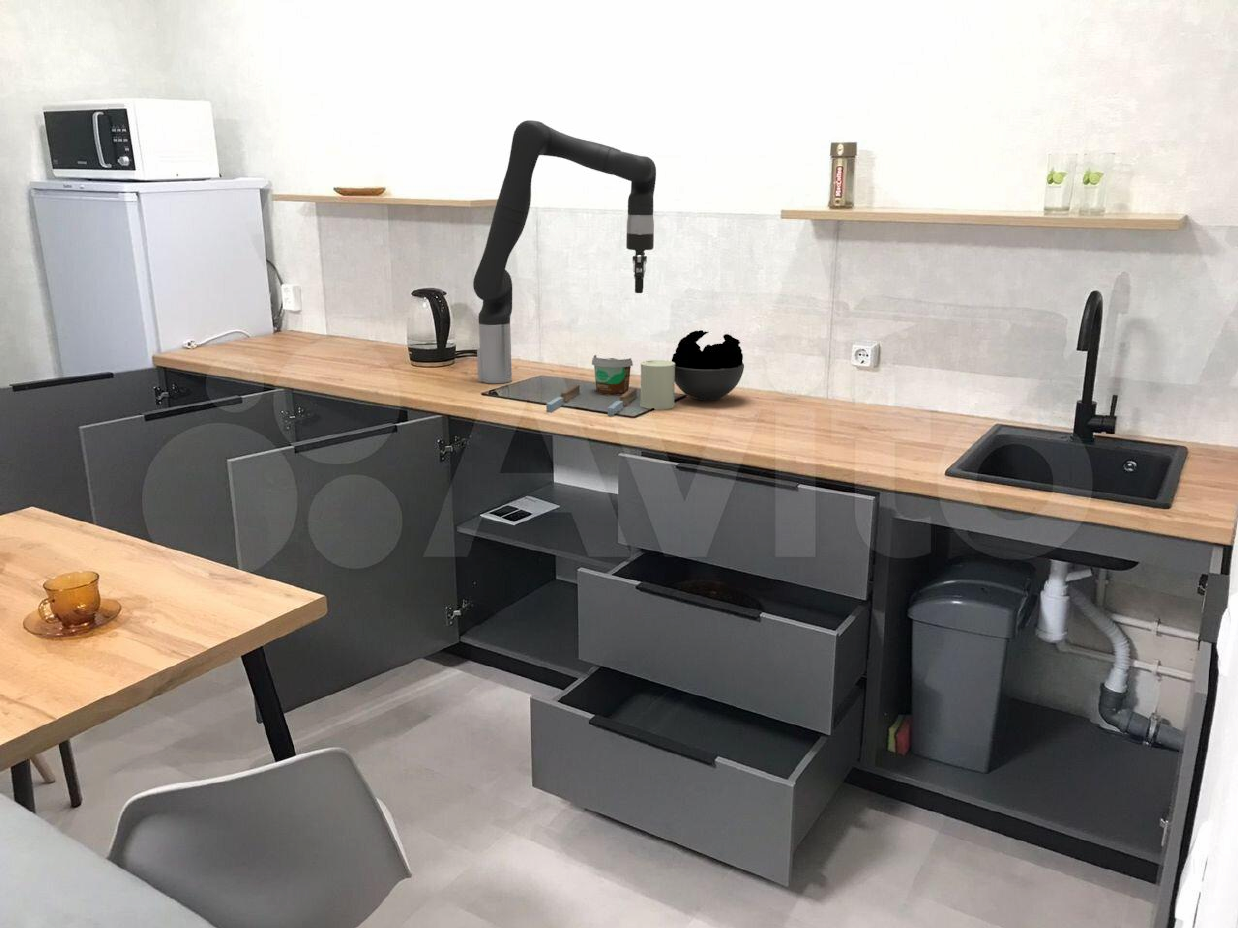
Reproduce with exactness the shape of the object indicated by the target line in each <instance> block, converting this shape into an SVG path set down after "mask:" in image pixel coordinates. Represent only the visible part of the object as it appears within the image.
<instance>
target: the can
mask: <svg viewBox="0 0 1238 928" xmlns="http://www.w3.org/2000/svg"><path fill="white" fill-rule="evenodd" d="M674 381H675V363H674V362H672V360H663V359H661V360H660V359H653V360H652V359H650V360H645V361H641V362H640V404H639V406H640V407H641V406H642V407H648V408H654V409H655V410H656V411H661V410H662V411H663V410H670V409H671V410H672V409H673V408H675V407H676V406H675V382H674ZM642 407H641V408H642ZM655 410H654V411H655Z"/></svg>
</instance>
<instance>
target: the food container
mask: <svg viewBox="0 0 1238 928" xmlns="http://www.w3.org/2000/svg"><path fill="white" fill-rule="evenodd" d="M591 365H592V366H594V368H593V369H594V377H595V379H594V380H595V388H596V393H597V392H598V393H597V394H599V393H602V394H601V395H604V394H610V395H609V396H615V395H614V394H621V395H623V394H624V393H626V392H627V391H628V390H629V387H630V376H631V368H632V366H633V360H632V358H631V357H630V358H626V359H625V358H624V359H618V358H615V357H614V358H613V357H611V358H610V357H609V358H600V357H597V355H596V354H595V355H593V357H592V360H591Z"/></svg>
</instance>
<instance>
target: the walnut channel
mask: <svg viewBox="0 0 1238 928" xmlns="http://www.w3.org/2000/svg"><path fill="white" fill-rule="evenodd" d="M637 391H638V389H637V387H636V388H635V387H631V388H630V389H628V391H627V392H626V393H624V394H621V395H619V401H623V407H626V405H627V404H628V403H629V404H631V403H632V400H633V399H634V398H635V399H636V398H638V396H637V395H638V394H637V393H638V392H637ZM578 394H579V395H580V394H581V393H580V384H573V385H571V386H570V387H569V388H567V389H565V390H564V391H562V392H561V393H560V397H563V402H567V401H568V402H569V400H570V399H571V400H572V398H573V399H574V398H576V397H577V396H579V395H578ZM575 396H576V397H575ZM635 399H634V400H635ZM571 400H570V401H571ZM634 400H633V401H634ZM568 402H567V403H568ZM629 404H628V405H629ZM628 405H627V406H628Z"/></svg>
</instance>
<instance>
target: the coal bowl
mask: <svg viewBox="0 0 1238 928" xmlns="http://www.w3.org/2000/svg"><path fill="white" fill-rule="evenodd" d="M707 334H709V331H704V330H694V331H691V332H689V333H688V334H687V335H686V336H683V338H680V340H679V341H678V344H677V346H676V349H675V353H673V354H672V358H671V361H672V362H674V363H675V381H674V384H676V386H677V387H678V389H680V391H681V392H682V393H684V394H685V395H687V396H689V397H690V398H693V399H694V400H695V399H696V400H698V401H714V400H715V401H716V400H718V399H721V398H723V397H725V396H727V395H728V394H730V393H731V392H732V391H733V390H734V389H735V388H736V387H737V386H738V384H739V383H740V380H741V378H742V376H743V374H744V370H745V364H744V363H743V360H744V354H743V353H742V351H743V350H742V348H741V346H740V344H741V340H739V339H737V338H735V337H733V336H732V335H731V334H729V333H727V334H726V333H725V334H723V336H722V337H723V339H724V341H723V342H722V343H714V344H712V345H711V344H706V345H705V346H704V347H703V348H702V349H703V350H702V349H701V346H700V345H699V344H698V343H697V342H698V341H699V340H700V339H701V338H703V337H704V336H705V335H707Z"/></svg>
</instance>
